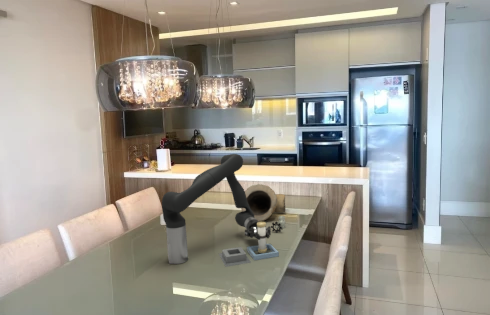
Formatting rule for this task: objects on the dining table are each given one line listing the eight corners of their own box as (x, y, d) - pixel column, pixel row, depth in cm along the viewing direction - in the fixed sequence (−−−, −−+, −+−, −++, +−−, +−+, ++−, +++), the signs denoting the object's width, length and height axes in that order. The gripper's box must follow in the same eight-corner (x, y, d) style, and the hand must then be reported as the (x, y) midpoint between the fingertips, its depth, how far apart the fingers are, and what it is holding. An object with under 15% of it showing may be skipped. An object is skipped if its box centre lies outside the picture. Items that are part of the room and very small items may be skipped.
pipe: (285, 222, 256) (288, 220, 227) (243, 223, 257) (240, 222, 228) (284, 189, 261) (286, 182, 232) (242, 190, 262) (239, 184, 233)
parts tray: (254, 263, 170) (254, 255, 169) (247, 253, 181) (247, 246, 181) (279, 259, 173) (278, 252, 172) (270, 250, 184) (270, 243, 184)
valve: (278, 226, 221) (270, 232, 211) (277, 215, 221) (270, 221, 210) (288, 227, 219) (282, 233, 208) (288, 216, 218) (281, 222, 207)
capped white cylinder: (259, 253, 174) (258, 224, 172) (257, 250, 178) (255, 222, 176) (268, 252, 175) (266, 223, 174) (265, 249, 179) (264, 221, 178)
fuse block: (225, 269, 164) (225, 260, 164) (218, 256, 180) (218, 247, 179) (251, 265, 167) (251, 256, 167) (242, 252, 183) (241, 244, 182)
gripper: (239, 220, 187) (248, 231, 171) (266, 217, 191) (277, 227, 174) (240, 235, 188) (249, 247, 172) (266, 231, 192) (278, 242, 175)
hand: (263, 237), depth 173 cm, fingers closed on capped white cylinder, 4 cm apart
